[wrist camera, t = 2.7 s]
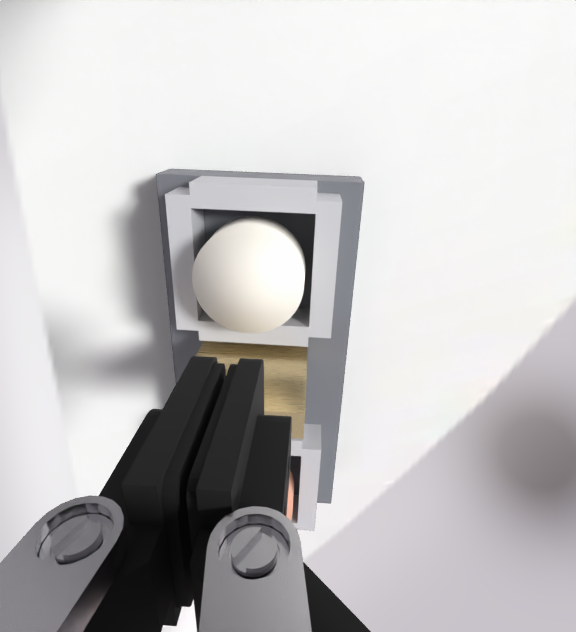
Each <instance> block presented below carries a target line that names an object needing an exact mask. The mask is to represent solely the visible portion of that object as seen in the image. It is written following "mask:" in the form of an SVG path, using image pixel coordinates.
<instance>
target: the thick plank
mask: <svg viewBox="0 0 576 632" xmlns="http://www.w3.org/2000/svg"><path fill="white" fill-rule="evenodd" d="M307 354H308V347H302V346H285V345H268V344H251V343H234V342H217V341H203V342H202V344H201V346H200V348H199V350H198V352H197V354H196V356H204V357H216V358H217V361H218V363H224V364H225V369H226V375H227V372H228V369H229V366H230V364H238V362H239V359H240V358H246V359H263V361H264V415H275V416H291V417H292V431H291V438H295V439H304V423H305V404H306V379H307Z"/></svg>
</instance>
